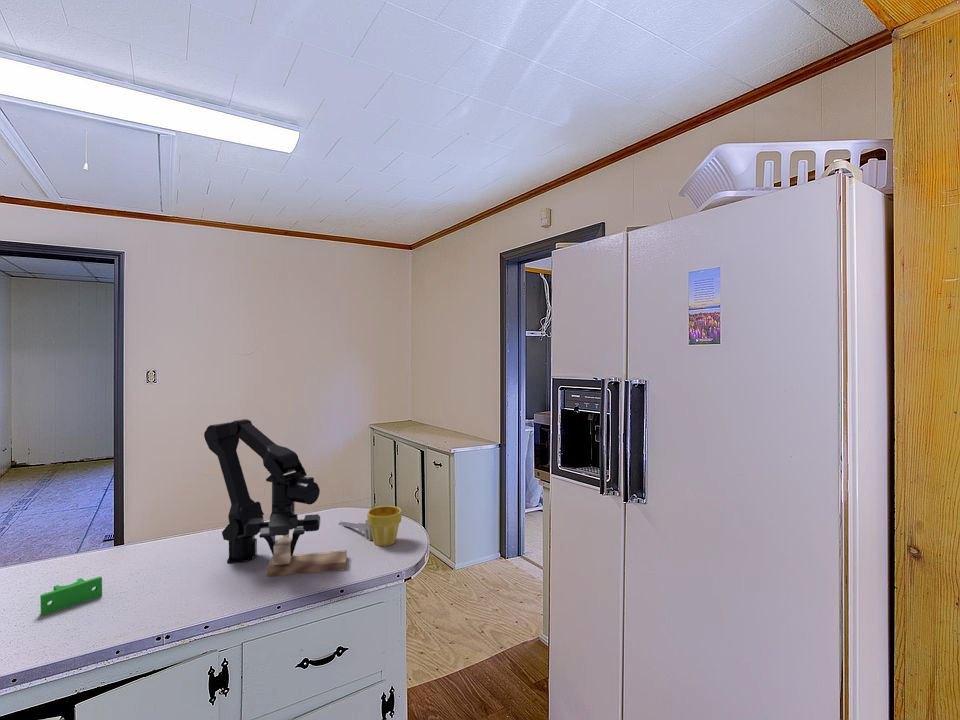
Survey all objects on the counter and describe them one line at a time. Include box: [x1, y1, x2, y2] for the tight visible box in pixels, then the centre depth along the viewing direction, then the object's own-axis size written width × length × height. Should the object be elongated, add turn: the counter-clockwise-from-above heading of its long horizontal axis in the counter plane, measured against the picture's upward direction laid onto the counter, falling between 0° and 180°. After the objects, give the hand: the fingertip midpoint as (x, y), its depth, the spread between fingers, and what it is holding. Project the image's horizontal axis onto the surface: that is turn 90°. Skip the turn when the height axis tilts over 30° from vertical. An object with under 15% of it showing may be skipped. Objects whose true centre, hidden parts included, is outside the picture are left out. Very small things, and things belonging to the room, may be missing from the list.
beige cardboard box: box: [274, 533, 292, 565], centre depth 136 cm, size 4×9×5 cm, turn 13°
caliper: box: [338, 519, 373, 541], centre depth 162 cm, size 20×1×6 cm, turn 44°
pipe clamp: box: [39, 576, 103, 616], centre depth 116 cm, size 11×4×5 cm, turn 145°
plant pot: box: [366, 505, 403, 547], centre depth 153 cm, size 10×10×10 cm
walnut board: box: [266, 549, 348, 578], centre depth 136 cm, size 20×8×2 cm, turn 103°
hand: (283, 556), depth 134 cm, fingers closed on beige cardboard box, 4 cm apart
